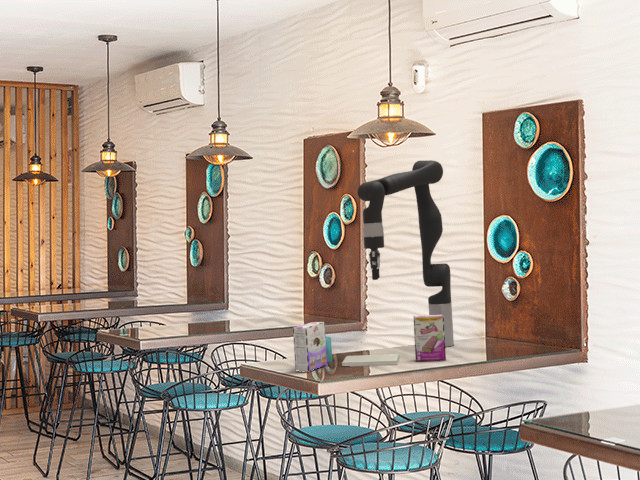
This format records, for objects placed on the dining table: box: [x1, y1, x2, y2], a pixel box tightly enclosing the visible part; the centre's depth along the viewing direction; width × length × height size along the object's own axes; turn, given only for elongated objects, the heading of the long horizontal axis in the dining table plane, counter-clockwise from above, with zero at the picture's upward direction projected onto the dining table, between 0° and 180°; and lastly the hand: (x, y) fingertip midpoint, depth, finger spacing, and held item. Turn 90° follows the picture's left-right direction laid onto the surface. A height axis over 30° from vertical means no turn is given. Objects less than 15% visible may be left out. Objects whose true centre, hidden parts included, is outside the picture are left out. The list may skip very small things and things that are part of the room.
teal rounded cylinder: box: [326, 336, 333, 363], centre depth 315 cm, size 7×7×9 cm
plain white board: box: [341, 353, 400, 367], centre depth 306 cm, size 14×20×2 cm
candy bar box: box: [413, 314, 447, 362], centre depth 303 cm, size 11×5×16 cm, turn 84°
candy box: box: [292, 321, 328, 371], centre depth 301 cm, size 14×6×16 cm, turn 150°
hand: (376, 279), depth 307 cm, fingers open, 8 cm apart
